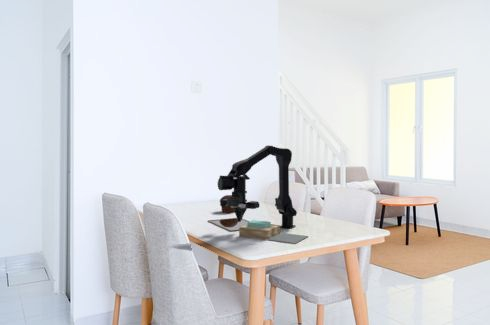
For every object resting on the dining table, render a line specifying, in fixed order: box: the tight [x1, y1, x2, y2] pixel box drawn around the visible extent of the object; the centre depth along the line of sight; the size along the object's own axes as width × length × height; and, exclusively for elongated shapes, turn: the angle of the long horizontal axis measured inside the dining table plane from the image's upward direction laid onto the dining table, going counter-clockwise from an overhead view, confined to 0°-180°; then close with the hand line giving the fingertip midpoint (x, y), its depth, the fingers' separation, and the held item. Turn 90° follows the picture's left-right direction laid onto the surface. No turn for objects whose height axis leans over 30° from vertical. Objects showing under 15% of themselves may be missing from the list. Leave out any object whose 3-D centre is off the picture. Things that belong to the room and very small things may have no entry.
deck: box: [238, 224, 281, 241], centre depth 196 cm, size 14×14×4 cm
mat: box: [266, 232, 309, 245], centre depth 189 cm, size 15×13×1 cm
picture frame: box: [207, 217, 250, 233], centre depth 220 cm, size 19×1×28 cm
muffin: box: [219, 194, 235, 214], centre depth 258 cm, size 12×11×10 cm
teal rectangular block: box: [247, 219, 271, 228], centre depth 196 cm, size 6×9×2 cm, turn 60°
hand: (239, 221), depth 201 cm, fingers closed
